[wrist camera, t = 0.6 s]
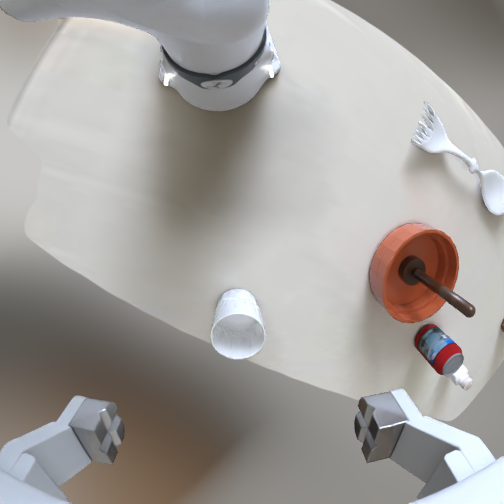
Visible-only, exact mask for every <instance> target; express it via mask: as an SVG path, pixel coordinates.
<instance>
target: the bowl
mask: <svg viewBox="0 0 504 504" xmlns="http://www.w3.org/2000/svg"><path fill="white" fill-rule="evenodd" d="M408 256H416V257H418V258H419V259H421V260H423V262H424V263H425V266H426V272H425V273H426V274H427V275H429V276H430V277H432V278H433V279H435V280H436V281H438V282H439V283H441V284H442V285H444V286H445V287H447V288H448V289H450V290H451V291H453V289H454V286H455V283H456V280H457V276H458V270H459V257H458V253H457V249H456V246H455V244H454V243H453V241H452V240H451V238H450V237H449V236H447V235H446V234H445V233H444V232H442V231H439V230H437V229H434V228H432V227H429V226H426V225H423V224H420V223H409V224H406V225H403V226H401V227H398V228H397V229H395V230H394V231H393V232H391V233H390V234H389V235H388V236H387V237H386V238H385V239H384V240H383V242H382V243H381V244H380V246H379V247H378V249H377V251H376V253H375V255H374V258H373V261H372V264H371V268H370V284H371V290H372V293H373V295H374V297H375V299H376V300H377V301H378V302H379V303H380V304H381V305H382V306H383V307H384V308H385V310H386V311H387V312H388V313H389V314H390V315H391V316H392V317H393V318H394V319H396V320H398V321H400V322H403V323H415V322H420V321H423V320H425V319H427V318H429V317H431V316H432V315H433V314H434V313H436V312H437V311H438V310H439V309H440V308H441V307H442V306H443V305H444V303H445V302H446V301H445V300H444V299H443V298H441V297H440V296H439V295H437V294H436V293H435V292H433V291H432V290H430V289H429V288H428V287H426V286H425V285H423V284H422V283H421V282H419V283H418V284H416V285H413V286H410V285H407V284H406V283H405V282H403V281H402V280H401V279H400V277H399V273H398V270H399V266H400V264H401V262H402V261H403V260H404V259H405V258H406V257H408Z"/></svg>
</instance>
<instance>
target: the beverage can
mask: <svg viewBox="0 0 504 504" xmlns="http://www.w3.org/2000/svg"><path fill="white" fill-rule="evenodd" d="M415 347H416V349H417V350H418V351H419V352H420V353H421V354H422V356H423V357H424V358H425V359H426V360H427V361H428V363H429V364H430V365H431V366H432V367H433V368H434V369H435V371H436V372H437V373H438V374H440V375H445V376H451V375H453V374H454V373H455V372H456V371H457V370H458V369H459V368H460V367H461V365H462V363H463V360H464V357H463V355H462V350H461V348H460V347H459V346H458V345H457V344H456V343H455V342H454V341H453V340H452V339H450V338H449V337H448V336H447V335H446V334H445V333H444V332H443V331H442V330H441V329H439V328H438V327H437V326H436V325H428V326H426V327H424V328H423V329H422V330H421V331H420V332H419V334H418V335H417V337H416V340H415Z"/></svg>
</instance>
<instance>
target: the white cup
mask: <svg viewBox="0 0 504 504" xmlns="http://www.w3.org/2000/svg"><path fill="white" fill-rule="evenodd" d="M210 340H211V343H212V346H213V347H214V349H215V350H216V351H217V352H218V353H219V354H221V355H222V356H224V357H227V358H230V359H236V360H238V359H239V360H240V359H246V358H250V357H252V356H254V355H256V354H257V353H258V352H259V351H260V350H261V349H262V348H263V346H264V344H265V341H266V331H265V328H264V324H263V320H262V316H261V313H260V310H259V307H258V305H257V303H256V300H255V297H254V296H253V295H252V294H251V293H250V292H248V291H245V290H242V289H231V290H229V291H227V292H226V293H224V294H223V295H222V296H221V298H220V299H219V301H218V305H217V308H216V311H215V315H214V319H213V324H212V328H211V333H210Z"/></svg>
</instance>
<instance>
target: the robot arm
mask: <svg viewBox="0 0 504 504" xmlns="http://www.w3.org/2000/svg"><path fill="white" fill-rule="evenodd" d="M0 8H1V9H2V10H3V11H4V12H5V13H6V14H8V15H10V16H12V17H13V18H15V19H17V20H20V21H24V22H36V21H42V20H48V19H54V18H67V17H83V18H95V19H102V20H107V21H112V22H116V23H120V24H124V25H127V26H130V27H133V28H136V29H139V30H142V31H145V32H147V33H149V34H151V35H153V36H155V37H156V39H157V40H158V41H159V42H160V43H161V48H160V49H161V52H163V56H162V60H161V61H160V64H161V65H160V70H159V79H160V81H161V82H162V83H164V85H165V86H170V87H173V88H174V89H176V90H177V91H178V93H179V94H180V95H181V96H182V97H183V98H184V99H185V100H186V101H187V102H188V103H190V104H192V105H193V106H195V107H198V108H200V109H204V110H208V111H225V110H230V109H234V108H237V107H239V106H241V105H243V104H245V103H246V102H248V101H249V100H251V99H252V98H253V97H254V96H255V95H256V94H257V93H258V91H259V90H260V88H261V87H262V85H263V84H264V82H265V81H266V80H267V79H269V78H270V77H271V78H272V77H273V76H274V75H275V74H276V73H278V72H279V70H280V61H279V58H278V55H277V52H276V49H275V46H274V44H273V41H272V38H271V35H270V32H269V29H268V27H267V24H266V20H267V16H268V12H269V0H0ZM272 60H273V61H272ZM358 407H359V409H360V412H359V413H358V414H357V415H356V417H355V423H354V424H355V433H356V436H357V439H358V440H359V441H361V442H362V443H363V446H362V452H363V454H364V457H365V459H366V462H367V463H369V462H373V461H378V460H382V459H386V458H390V457H391V458H390V459H391V460H393V461H394V462H396V463H397V464H399V465H400V466H401V467H403V468H404V469H406V470H407V471H409V472H410V473H412V474H413V475H414V476H416V477H418V478H419V479H420V480H422V481H423V482H425V483H426V485H425V486H424V487H423V489H422V490H421V492H420V493H419V494H418V496H417V498H418V500H417V501H414V502H411V503H409V504H504V456H502V457H501V458H499V459H498V460H496V459H495V458H494V457H493V455H492V454H491V453H490V451H489V450H488V449H487V447H486V446H485V444H484V443H483V442H482V441H481V439H480V438H479V437H476V436H474V435H471V434H468V433H466V432H464V431H461V430H459V429H456V428H454V427H451V426H449V425H446V424H444V423H442V422H440V421H437V420H435V419H433V418H430V417H428V416H425V417H423V416H422V414H421V413H420V412H419V410H418V409H417V407H416V406H415V404H414V403H413V401H412V400H411V399H410V397H409V396H408V394H407V393H406V391H405V390H404V389H402V388H401V389H397V390H393V391H389V392H384V393H380V394H375V395H370V396H365V397H361V399H360V400H359V405H358ZM117 411H118V410H117V408H116V405H115V404H114V403H112V402H108V401H103V400H98V399H93V398H87V397H82V396H75V397H73V399H72V400H71V401H70V403H69V404H68V406H67V407H66V409H65V410H64V412H63V413H62V414H61V416H60V417H59V419H58V420H57V422H51V423H49V424H47V425H45V426H43V427H40V428H38V429H36V430H34V431H32V432H30V433H28V434H25V435H23V436H21V437H19V438H16V439H14V440H12V441H10V442H7V443H6V444H5V446H4V447H3V449H2V450H1V451H0V504H73V503H70V502H68V501H67V496H66V495H65V493H64V492H63V491H62V490H61V489H60V488H59V486H61V485H62V484H63V483H65V482H66V481H67V480H69V479H70V478H71V477H73V476H74V475H75V474H77V473H78V472H79V471H80V470H82V469H83V468H85V467H86V466H87V465H89V464H90V463H91V462H92V461H95V462H99V463H104V464H109V465H113V463H114V460H115V458H116V456H117V453H118V451H117V449H116V447H117V446H118V445H120V444H121V443H122V441H123V438H124V424H123V422H122V419H121V418H119V417H118V416H117V415H116V413H117Z"/></svg>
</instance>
